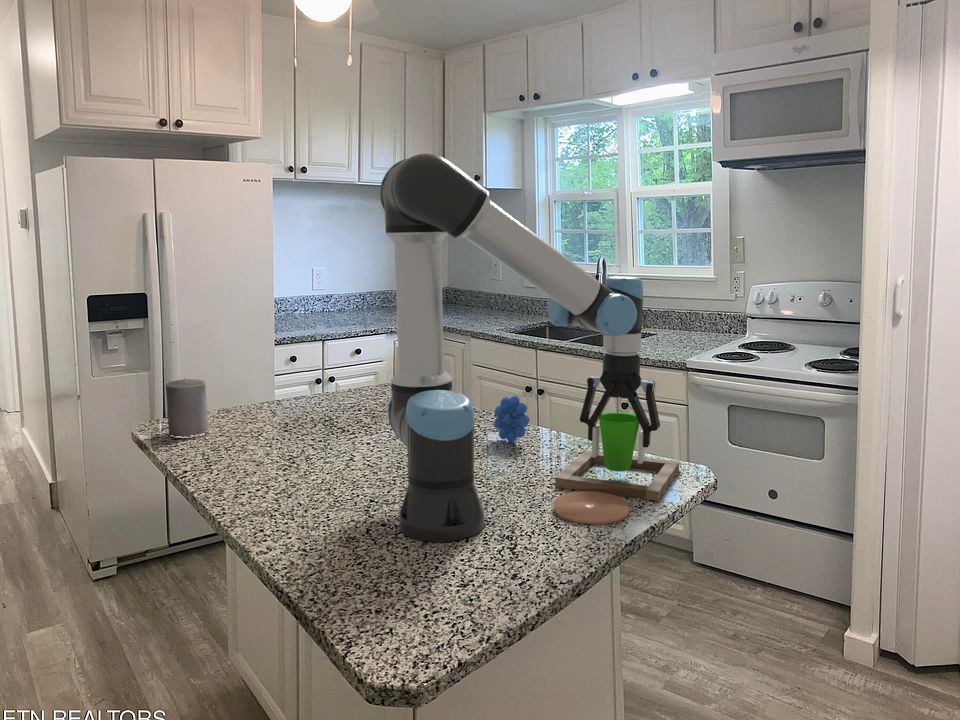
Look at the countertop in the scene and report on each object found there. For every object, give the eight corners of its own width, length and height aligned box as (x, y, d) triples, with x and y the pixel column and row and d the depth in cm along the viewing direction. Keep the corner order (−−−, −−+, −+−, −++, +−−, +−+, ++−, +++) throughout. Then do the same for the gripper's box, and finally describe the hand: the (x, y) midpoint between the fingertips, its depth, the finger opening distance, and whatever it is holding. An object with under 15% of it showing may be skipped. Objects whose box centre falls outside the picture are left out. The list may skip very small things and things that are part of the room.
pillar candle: (162, 435, 198) (157, 378, 195) (197, 427, 205) (193, 372, 202) (181, 442, 192) (176, 383, 189) (216, 433, 199) (212, 377, 196)
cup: (639, 476, 155) (641, 423, 153) (594, 473, 157) (596, 421, 155) (639, 463, 164) (641, 413, 162) (596, 460, 166) (598, 410, 164)
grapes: (540, 443, 187) (540, 396, 185) (521, 449, 182) (521, 400, 180) (507, 434, 195) (507, 388, 193) (488, 439, 191) (487, 392, 189)
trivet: (617, 529, 134) (618, 522, 134) (542, 517, 140) (542, 510, 139) (637, 503, 146) (637, 497, 146) (567, 493, 152) (567, 487, 152)
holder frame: (658, 501, 147) (658, 491, 147) (555, 486, 156) (555, 477, 155) (679, 470, 166) (679, 461, 165) (585, 458, 175) (586, 450, 174)
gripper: (679, 353, 155) (674, 460, 159) (576, 346, 164) (573, 447, 168) (671, 359, 148) (666, 470, 152) (565, 351, 157) (562, 456, 161)
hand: (617, 458), depth 160 cm, fingers closed on cup, 9 cm apart
